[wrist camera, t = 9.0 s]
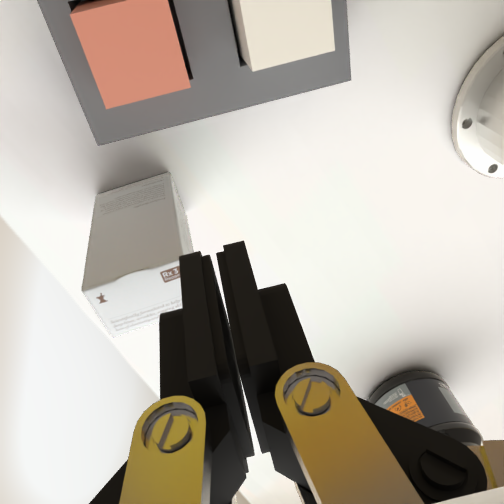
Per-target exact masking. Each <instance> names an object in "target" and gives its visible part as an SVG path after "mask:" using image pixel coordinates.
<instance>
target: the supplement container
mask: <svg viewBox="0 0 504 504" xmlns="http://www.w3.org/2000/svg"><path fill="white" fill-rule="evenodd" d="M368 402H370V403H373V404H375V405H377V406H380V407H382V408H384V409H387V410H389V411H391V412H394V413H396V414H398V415H400V416H403V417H405V418H407V419H410V420H412V421H414V422H417V423H419V424H421V425H424V426H426V427H428V428H430V429H433V430H435V431H437V432H440V433H442V434H444V435H447V436H449V437H451V438H454V439H456V440H457V441H459V442H461V443H462V444H464V445H466V446H481V441H483V437H482V435H481V434H480V432H479V431H478V429H476V428H475V427H474V425H473V424H472V422H471V421H470V419H469V418H468V416H467V415H466V413H465V412H464V410H463V409H462V407H461V406H460V404H459V403H458V401H457V400H456V398H455V397H454V395H453V394H452V392H451V391H450V389H449V387H448V385H447V383H446V382H445V381H444V380H443V379H442V378H441V377H440V376H438V375H437V374H435V373H432V372H428V371H412V372H407V373H403V374H400V375H397V376H395V377H393V378H391V379H389V380H388V381H386V382H385V383H383V384H382V385H381V386H380V387H378V388H377V389H376V391H375V392H374V393H373V394H372V396H371V397H370V399H369V401H368Z"/></svg>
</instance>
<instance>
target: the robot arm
mask: <svg viewBox="0 0 504 504" xmlns="http://www.w3.org/2000/svg"><path fill="white" fill-rule="evenodd" d="M451 129H452V140H453V143H454V146H455V149H456V151H457V153H458V155H459V156H460V158H461V160H462V161H464V162H465V163H466V164H467V165H468V166H469V167H470V168H472V169H473V170H475V171H476V172H478V173H479V174H482V175H484V176H487V177H492V178H504V36H502V37H501V38H500V39H499V40H498V41H496V42H495V43H494V44H493V45H492V46H491V47H490V48H489V49H488V50H487V51H486V52H485V53H484V54H483V55H482V56H481V58H480V59H479V60H478V61H477V62H476V63H475V65H474V66H473V68H472V69H471V71H470V72H469V74H468V76H467V77H466V79H465V80H464V83H463V85H462V87H461V89H460V91H459V93H458V96H457V99H456V102H455V106H454V109H453V115H452V124H451ZM223 247H224V251H223V252H219V253H216V255H217V260H218V266H219V271H220V276H221V282H222V287H223V292H224V297H225V303H226V308H227V313H228V319H229V322H228V319H227V315H226V311H225V308H224V304H223V300H222V297H221V293H220V290H219V286H218V282H217V279H216V275H215V272H214V268H213V264H212V261H211V257H210V255H206V256H202V255H201V252H200V251H198V252H194V253H190V254H186V255H181V256H179V267H180V281H181V295H182V308H181V309H177V310H173V311H169V312H165V313H161V314H160V318H159V333H160V401H158V402H156V403H154V404H152V405H151V406H150V407H149V408H148V409H147V410H145V411H144V413H143V414H142V415H141V417H140V418H139V420H138V421H137V424H136V426H135V429H134V432H133V438H132V442H131V447H130V452H129V457H128V460H127V461H126V462H125V463H124V465H123V466H122V467H121V468H120V469H119V470H118V471H117V472H116V474H115V475H114V476H113V477H112V478H111V479H110V480H109V482H108V483H107V484H106V485H105V486H104V487H103V488H102V490H101V491H100V492H99V493H98V494H97V495H96V496H95V498H94V499H93V500H92V501H91V502H90V503H89V504H237V500H236V492H237V491H238V489H239V488H240V486H241V485H242V483H243V482H244V480H245V479H246V473H248V472H249V471H248V465H247V459H246V458H247V457H251V456H254V455H255V454H254V448H253V443H252V438H251V432H250V427H249V422H248V416H247V411H246V406H245V401H244V395H243V390H242V385H243V388H244V392H245V395H246V399H247V402H248V406H249V410H250V413H251V417H252V420H253V424H254V427H255V431H256V434H257V438H258V441H259V445H260V448H261V452H262V453H266V452H270V453H271V457H272V460H273V464H274V468H275V471H277V472H279V473H281V474H282V475H284V476H286V477H287V478H289V479H291V480H293V481H294V483H295V487H296V490H297V492H298V495H299V497H300V499H301V502H302V504H504V440H488V441H481V446H466V445H464V444H462V443H461V442H459V441H457V440H456V439H454V438H451V437H449V436H447V435H444V434H442V433H440V432H437V431H435V430H433V429H430V428H428V427H426V426H424V425H421V424H419V423H417V422H414V421H412V420H410V419H407V418H405V417H403V416H400V415H398V414H396V413H394V412H391V411H389V410H387V409H384V408H382V407H380V406H377V405H375V404H373V403H370V402H368V401H366V400H363V399H361V398H359V397H357V396H355V394H354V392H353V391H352V389H351V388H350V386H349V384H348V383H347V381H346V380H345V378H344V377H343V376H342V375H341V374H340V373H339V371H338V370H336V369H334V368H332V367H331V366H329V365H326V364H322V363H318V362H314V359H313V356H312V353H311V351H310V348H309V345H308V343H307V340H306V337H305V334H304V332H303V329H302V326H301V323H300V321H299V318H298V315H297V313H296V310H295V307H294V304H293V302H292V299H291V296H290V294H289V291H288V288H287V286H286V284H285V283H284V284H280V285H276V286H272V287H267V288H263V289H259V290H258V289H257V285H256V282H255V278H254V275H253V271H252V268H251V264H250V261H249V257H248V254H247V250H246V246H245V243H244V241H240V242H236V243H232V244H228V245H223ZM229 324H230V326H229ZM230 329H231V330H230ZM240 378H241V380H240ZM241 381H242V385H241Z"/></svg>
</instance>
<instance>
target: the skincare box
mask: <svg viewBox="0 0 504 504" xmlns="http://www.w3.org/2000/svg"><path fill="white" fill-rule="evenodd" d="M190 253H194V251H193V246H192V241H191V236H190V230H189V225H188V220H187V216H186V213H185V211H184V208H183V206H182V203H181V200H180V198H179V195H178V192H177V190H176V187H175V184H174V182H173V179H172V176H171V174H170V173H169V172H167V173H163V174H160V175H157V176H154V177H151V178H148V179H145V180H141V181H138V182H135V183H132V184H129V185H126V186H122V187H119V188H116V189H113V190H110V191H107V192H103V193H100V194H97V195H96V197H95V204H94V210H93V217H92V224H91V230H90V236H89V243H88V250H87V256H86V263H85V270H84V278H83V283H82V292H83V294H84V295H85V297H86V298H87V300H88V301H89V303H90V305H91V306H92V308H93V309H94V311H95V312H96V314H97V315H98V317H99V318H100V320H101V322H102V323H103V325H104V326H105V328H106V329H107V331H108V332H109V334H110V335H111V336H112V337H113V338H114V337H117V336H120V335H123V334H126V333H129V332H132V331H135V330H138V329H141V328H144V327H147V326H150V325H153V324H156V323H159V318H160V314H161V313H165V312H169V311H173V310H177V309H181V308H182V295H181V281H180V267H179V256H181V255H186V254H190Z"/></svg>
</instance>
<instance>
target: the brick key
mask: <svg viewBox="0 0 504 504" xmlns="http://www.w3.org/2000/svg"><path fill="white" fill-rule="evenodd" d="M70 16H71V19H72V22H73V24H74V27H75V29H76V32H77V35H78V37H79V40H80V42H81V45H82V48H83V50H84V53H85V55H86V58H87V60H88V63H89V66H90V68H91V71H92V73H93V76H94V79H95V81H96V84H97V86H98V89H99V92H100V94H101V97H102V99H103V102H104V105H105V107H106V109H109V108H113V107H117V106H121V105H125V104H129V103H133V102H137V101H141V100H144V99H148V98H152V97H156V96H160V95H164V94H168V93H172V92H176V91H180V90H183V89H187V88H191V86H190V82H189V78H188V74H187V71H186V67H185V63H184V59H183V56H182V52H181V48H180V44H179V41H178V37H177V33H176V29H175V26H174V22H173V18H172V14H171V11H170V7H169V3H168V0H84V1H80V2H79V3H78V5H77V6H76V7H75V8H74V10H73V11H72V12H71V14H70Z"/></svg>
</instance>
